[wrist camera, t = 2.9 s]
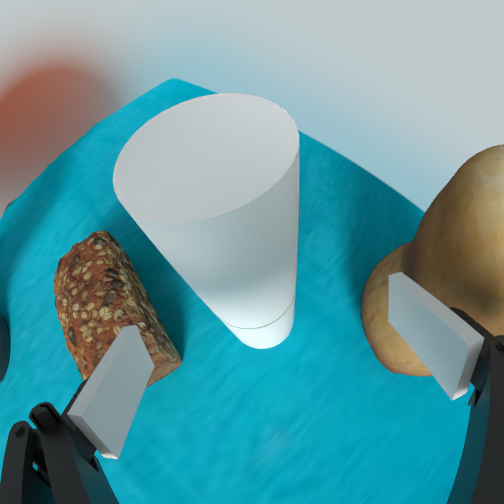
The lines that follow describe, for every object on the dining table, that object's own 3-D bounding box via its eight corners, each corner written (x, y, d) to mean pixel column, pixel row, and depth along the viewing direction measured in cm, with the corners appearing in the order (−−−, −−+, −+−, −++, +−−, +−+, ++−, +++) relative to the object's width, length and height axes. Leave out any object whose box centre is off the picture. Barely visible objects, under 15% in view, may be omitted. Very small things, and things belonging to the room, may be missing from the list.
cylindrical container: (272, 278, 34) (238, 79, 12) (305, 326, 30) (342, 154, 8) (220, 309, 33) (102, 145, 11) (251, 360, 29) (138, 265, 7)
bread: (191, 363, 30) (153, 351, 21) (125, 403, 28) (73, 401, 19) (132, 251, 38) (95, 213, 30) (80, 290, 36) (37, 261, 28)
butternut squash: (339, 372, 27) (486, 307, 5) (357, 263, 33) (425, 75, 11) (444, 383, 24) (619, 326, 2) (450, 281, 30) (566, 148, 8)
